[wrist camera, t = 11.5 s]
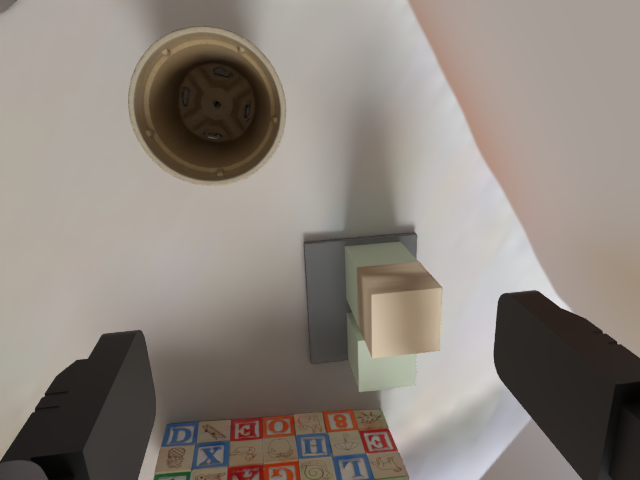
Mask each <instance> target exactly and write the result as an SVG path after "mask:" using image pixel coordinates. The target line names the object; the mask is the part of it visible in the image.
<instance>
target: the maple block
mask: <svg viewBox="0 0 640 480" xmlns="http://www.w3.org/2000/svg"><path fill="white" fill-rule="evenodd" d="M441 311H442V287H441V286H440V284H439V283H438V282H437V281H436V280H435V279H434V278H433V277H432V275H431V274H430V273H429V272H428V271H427V270H426V269H425V268H424V267H423V265H422V264H421V263H420V262H408V263H398V264H387V265H376V266H365V267H357V315H358V326H359V329H360V331H361V333H362V336H363V338H364V341H365V343H366V345H367V348H368V350H369V352H370V355H371V357H372V358H381V357H390V356H398V355H407V354H416V353H425V352H434V351H440V334H441Z"/></svg>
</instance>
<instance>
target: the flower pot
mask: <svg viewBox="0 0 640 480" xmlns="http://www.w3.org/2000/svg"><path fill="white" fill-rule="evenodd" d="M216 68H220V69H223V70H225V71H228V72H229V73H230V75H229V77H224V76H221V75H217V74H216V75H215V74H214V69H216ZM185 88H187V89H188V90H189V95H188V103H187V105H184V102H183V91H184V89H185ZM215 102H219V104H220V105H219V107H215V105H214V103H215ZM128 104H129V115H130V120H131V124H132V127H133V130H134V132H135V135H136V137H137V139H138V141H139V143H140V144H141V146H142V148H143V150H144V151H145V152H146V153H147V155H148V156H149V157H150V158H151V159H152V160H153V161H154V162H155V163H156V164H157V165H158V166H159V167H160V168H162V169H163V170H165V171H166V172H168V173H169V174H171V175H172V176H174V177H176V178H178V179H180V180H183V181H186V182H190V183H193V184H199V185H207V186H218V185H226V184H231V183H234V182H237V181H240V180H243V179H245V178H247V177H249V176H250V175H252V174H254V173H255V172H256V171H258V170H259V169H260V168H262V167H263V166H264V165H265V164H266V163H267V162H268V161H269V159H270V158H271V157H272V155H273V154H274V152H275V151H276V149H277V147H278V145H279V143H280V140H281V138H282V135H283V132H284V127H285V119H286V102H285V95H284V91H283V88H282V84H281V82H280V79H279V77H278V75H277V73H276V71H275V69H274V68H273V66H272V65H271V63H270V62H269V60H268V59H267V58H266V57H265V55H264V54H263V53H262V52H261V51H260V50H259V49H258V48H257V47H255V46H254V45H253V44H252V43H251V42H249V41H248V40H246V39H244V38H243V37H241V36H239V35H237V34H235V33H233V32H230V31H227V30H224V29H221V28H216V27H208V26H194V27H188V28H183V29H180V30H176V31H174V32H171V33H170V34H167V35H165V36H163V37H162V38H160V39H159V40H158V41H156V42H155V43H154V44H153V45H152V46H150V47H149V48H148V50H147V51H146V52H145V53H144V55H143V56H142V57H141V58H140V60H139V62H138V64H137V66H136V68H135V70H134V73H133V76H132V78H131V83H130V88H129V99H128ZM247 104H250V110H249V115H248V117H247V118H245V111H244V109H246V106H247ZM206 132H207V133H212V134H218V135H221V138H220V139H210V138H208V137H206V136H205V133H206Z"/></svg>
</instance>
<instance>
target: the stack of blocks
mask: <svg viewBox="0 0 640 480" xmlns="http://www.w3.org/2000/svg"><path fill="white" fill-rule="evenodd" d="M154 474H155V476H154V479H153V480H409V476H408V473H407V471H406V469H405V466H404V464H403V461H402V458H401V456H400V454H399V452H398V450H397V447H396V445H395V442H394V440H393V438H392V435H391V433H390V431H389V427H388V425H387V422H386V420H385V417H384V415H383V412H382V410H381V409H371V410H355V411H352V410H346V411H331V412H314V413H301V414H293V415H286V416H274V417H263V418H252V419H239V420H232V421H231V420H217V421H203V422H190V423H177V424H168V425H167V426H166V430H165V434H164V438H163V441H162V445H161V449H160V452H159V456H158V460H157V464H156V468H155V473H154Z"/></svg>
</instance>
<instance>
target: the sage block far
mask: <svg viewBox="0 0 640 480" xmlns="http://www.w3.org/2000/svg"><path fill="white" fill-rule="evenodd" d="M347 339H348V361H349V364H350V367H351V370H352V373H353V376H354V379H355V382H356V385H357V388H358V391H359V392H366V391H374V390H382V389H390V388H399V387H407V386H415V385H416V354H417V353H416V354H407V355H398V356H390V357H381V358H372V357H371V355H370V352H369V350H368V348H367V345H366V343H365V341H364V338H363V336H362V333H361V331H360V329H359V326H358V325H357V322H356V320H355V318H354V315H353V313H352V312H351V313H347Z"/></svg>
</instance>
